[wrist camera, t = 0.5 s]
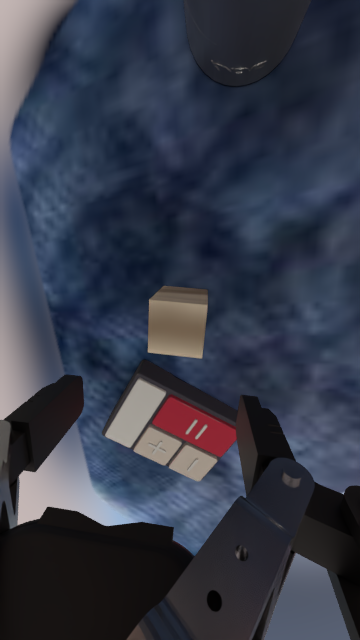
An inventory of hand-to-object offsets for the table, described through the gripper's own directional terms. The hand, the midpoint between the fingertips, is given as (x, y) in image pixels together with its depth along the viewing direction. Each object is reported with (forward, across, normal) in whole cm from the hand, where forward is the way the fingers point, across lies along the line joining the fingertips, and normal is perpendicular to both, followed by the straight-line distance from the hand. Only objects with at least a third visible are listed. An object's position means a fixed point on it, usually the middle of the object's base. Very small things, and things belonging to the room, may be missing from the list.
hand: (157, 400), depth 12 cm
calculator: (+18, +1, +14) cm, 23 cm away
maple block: (+16, 0, -1) cm, 17 cm away
